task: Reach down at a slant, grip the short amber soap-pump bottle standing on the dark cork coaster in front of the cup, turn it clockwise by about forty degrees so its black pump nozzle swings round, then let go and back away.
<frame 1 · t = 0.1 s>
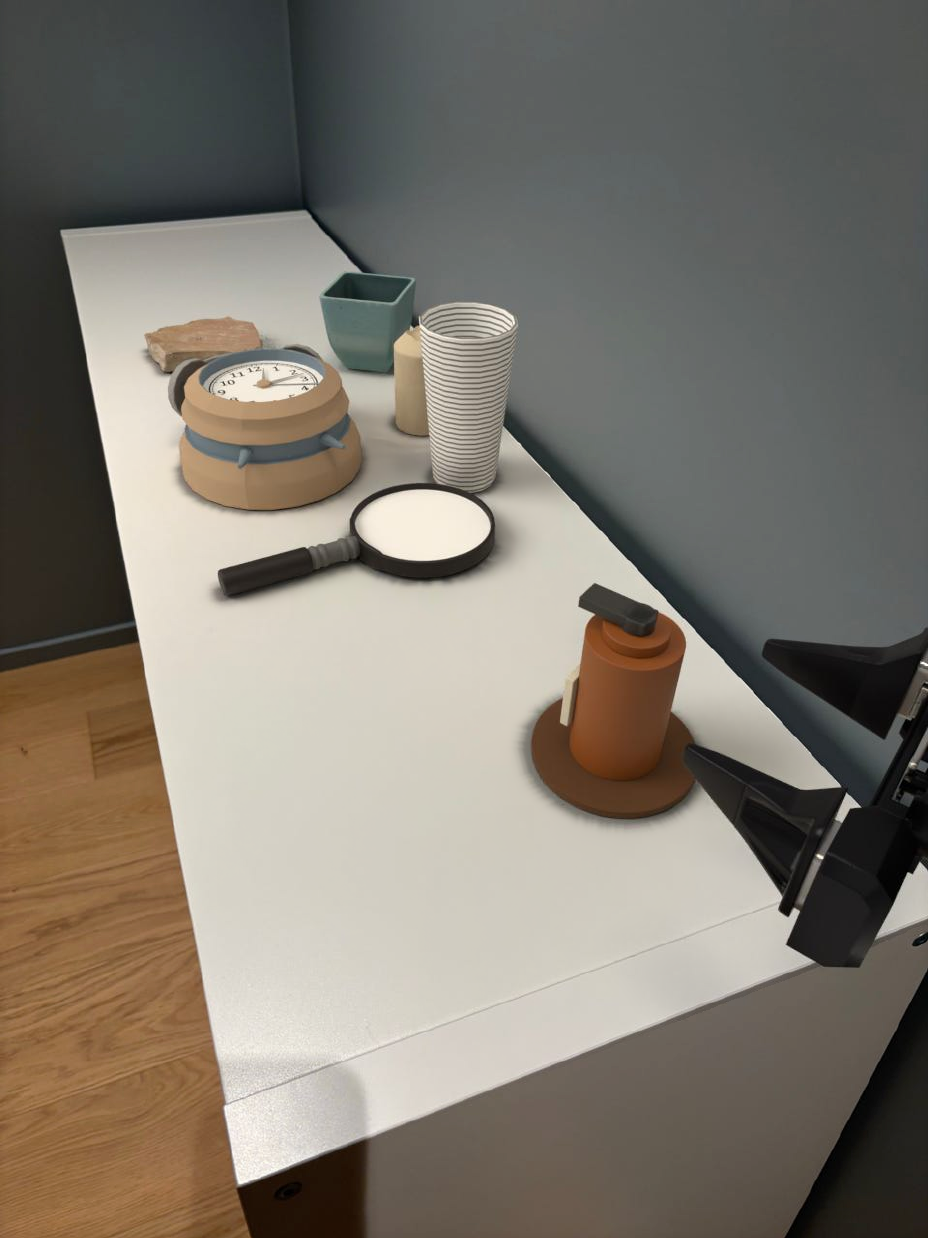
hand: (726, 696, 45), 14 cm above the cabinet top, tool horizontal, fingers open, 9 cm apart
coaster: (613, 752, 61), on the cabinet top
candle: (421, 425, 97), on the cabinet top
stone: (213, 360, 108), on the cabinet top
magnifying glass: (361, 557, 78), on the cabinet top
cup: (463, 479, 88), on the cabinet top
flower pot: (371, 364, 108), on the cabinet top
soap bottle: (622, 681, 57), point 6 cm above the cabinet top, hinge at 0.0°
alarm clock: (265, 451, 92), on the cabinet top
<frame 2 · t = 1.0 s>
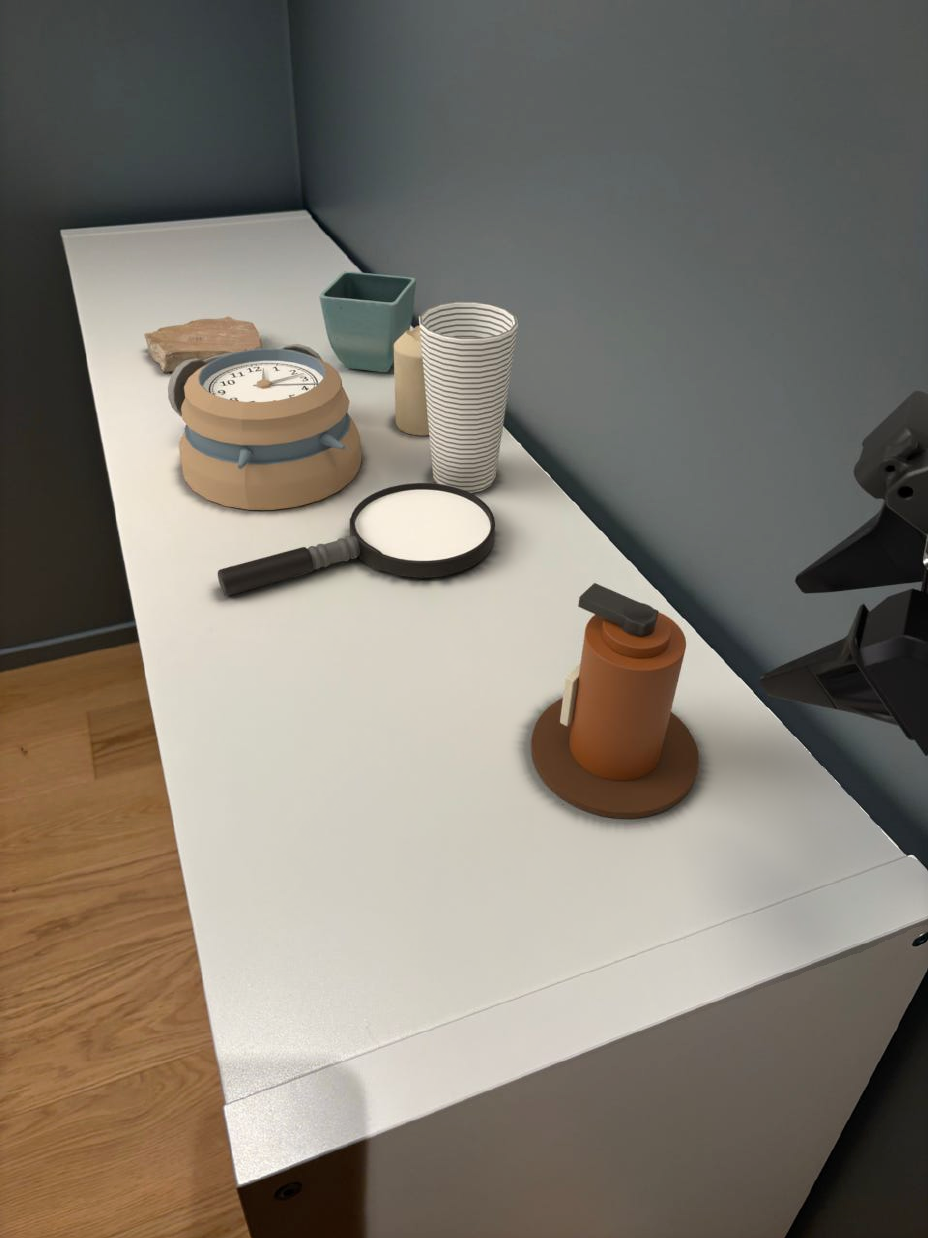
hand: (782, 632, 49), 14 cm above the cabinet top, tool tilted 45°, fingers open, 9 cm apart
nothing on the cabinet top moved.
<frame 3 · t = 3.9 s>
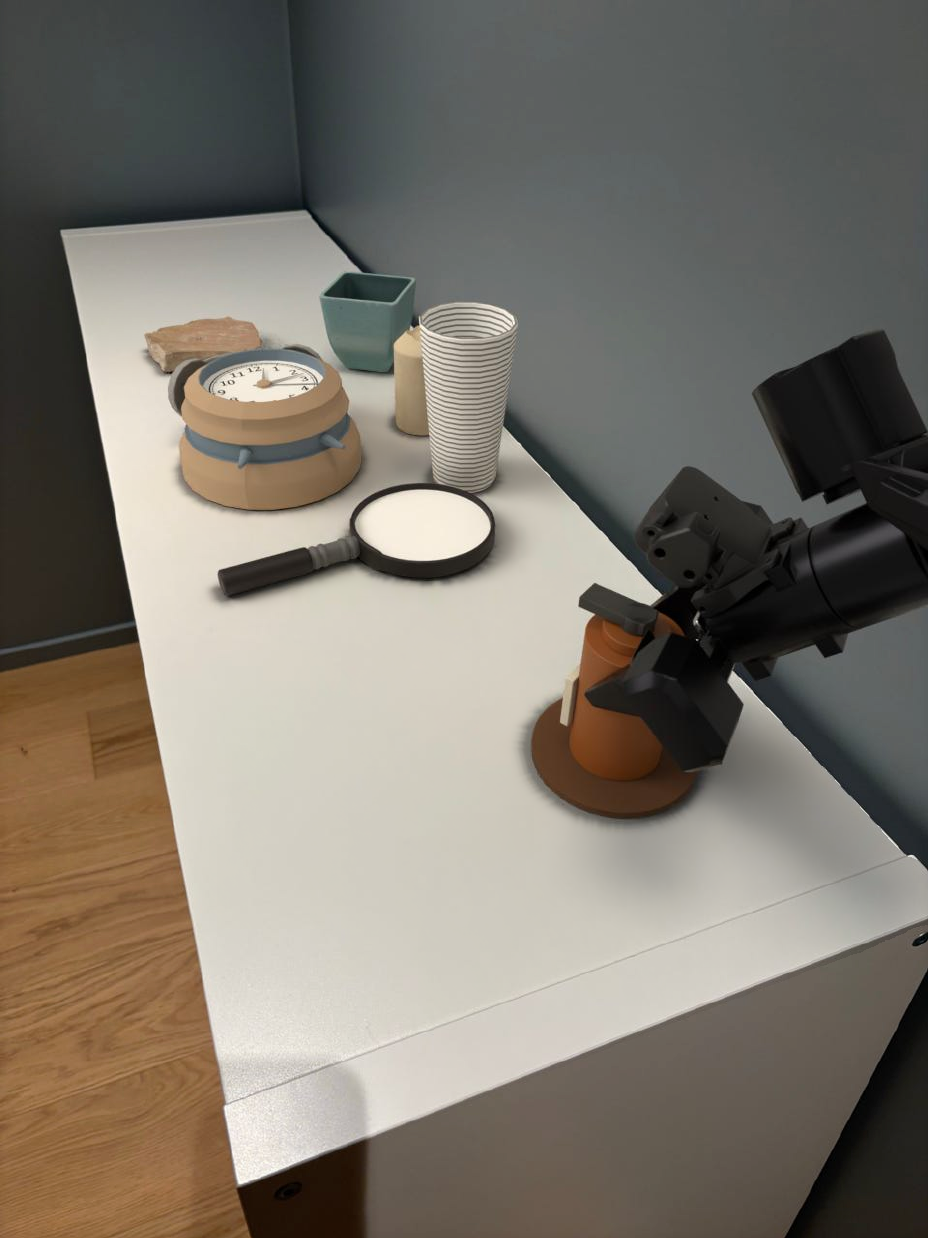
hand: (607, 667, 57), 7 cm above the cabinet top, tool tilted 45°, fingers closed on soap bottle, 6 cm apart
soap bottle: (622, 681, 58), point 6 cm above the cabinet top, hinge at -0.1°, touching gripper
everything else where it was.
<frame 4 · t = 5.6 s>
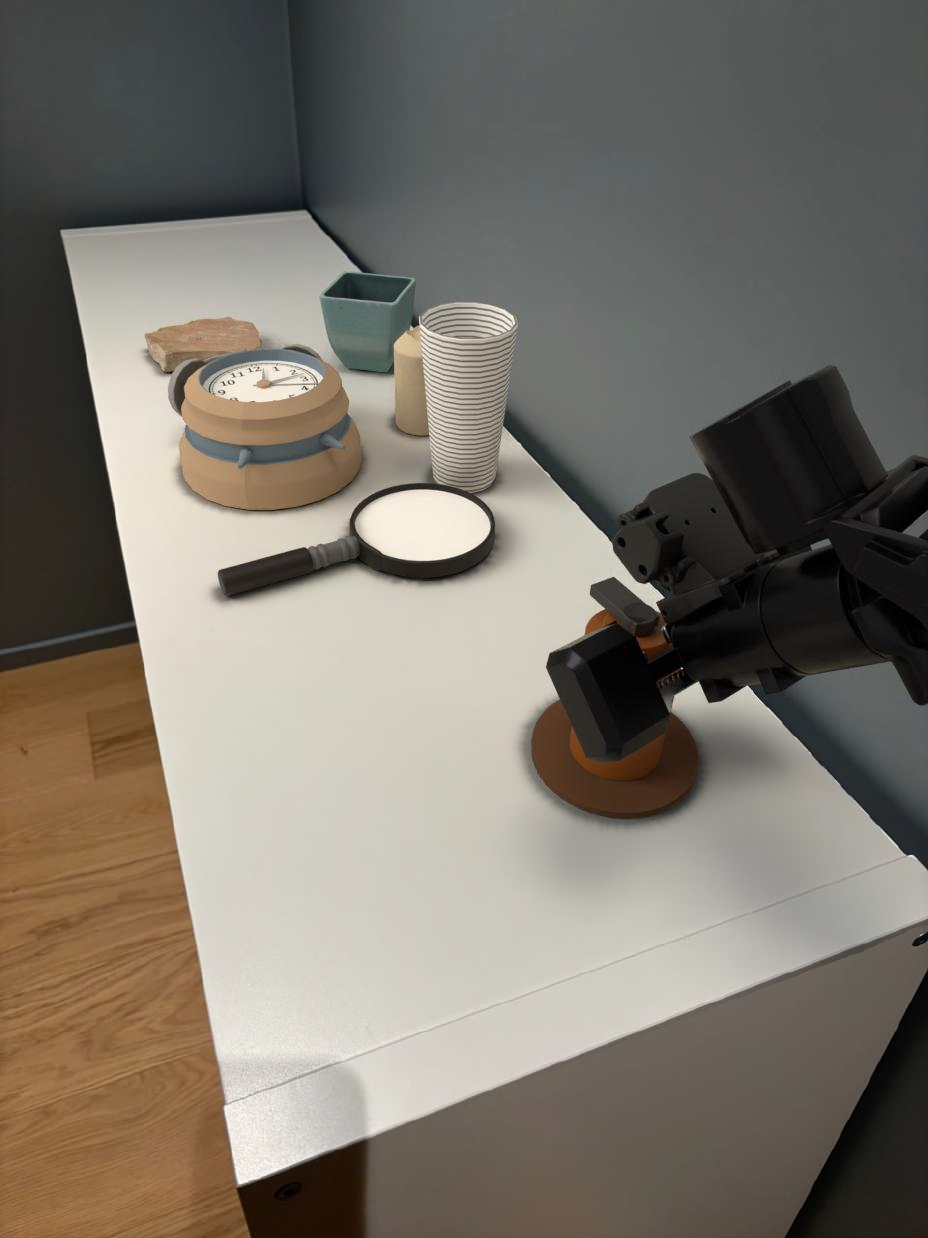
hand: (612, 662, 58), 7 cm above the cabinet top, tool tilted 45°, fingers closed on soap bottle, 6 cm apart
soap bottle: (623, 681, 58), point 6 cm above the cabinet top, hinge at -22.4°, touching gripper
everything else where it was.
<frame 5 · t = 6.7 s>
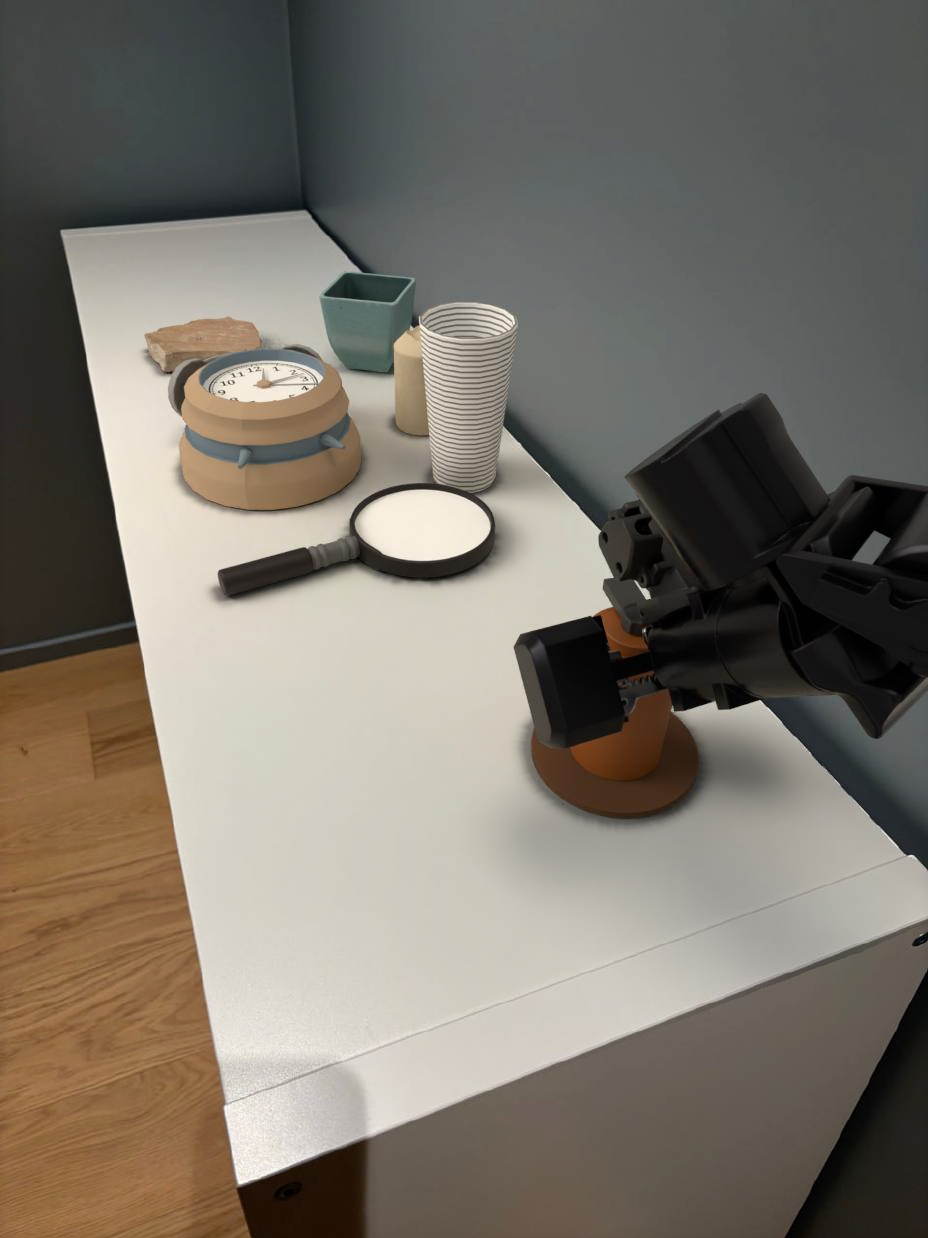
hand: (616, 660, 58), 7 cm above the cabinet top, tool tilted 45°, fingers closed on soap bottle, 6 cm apart
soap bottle: (624, 680, 58), point 6 cm above the cabinet top, hinge at -39.1°, touching gripper
everything else where it was.
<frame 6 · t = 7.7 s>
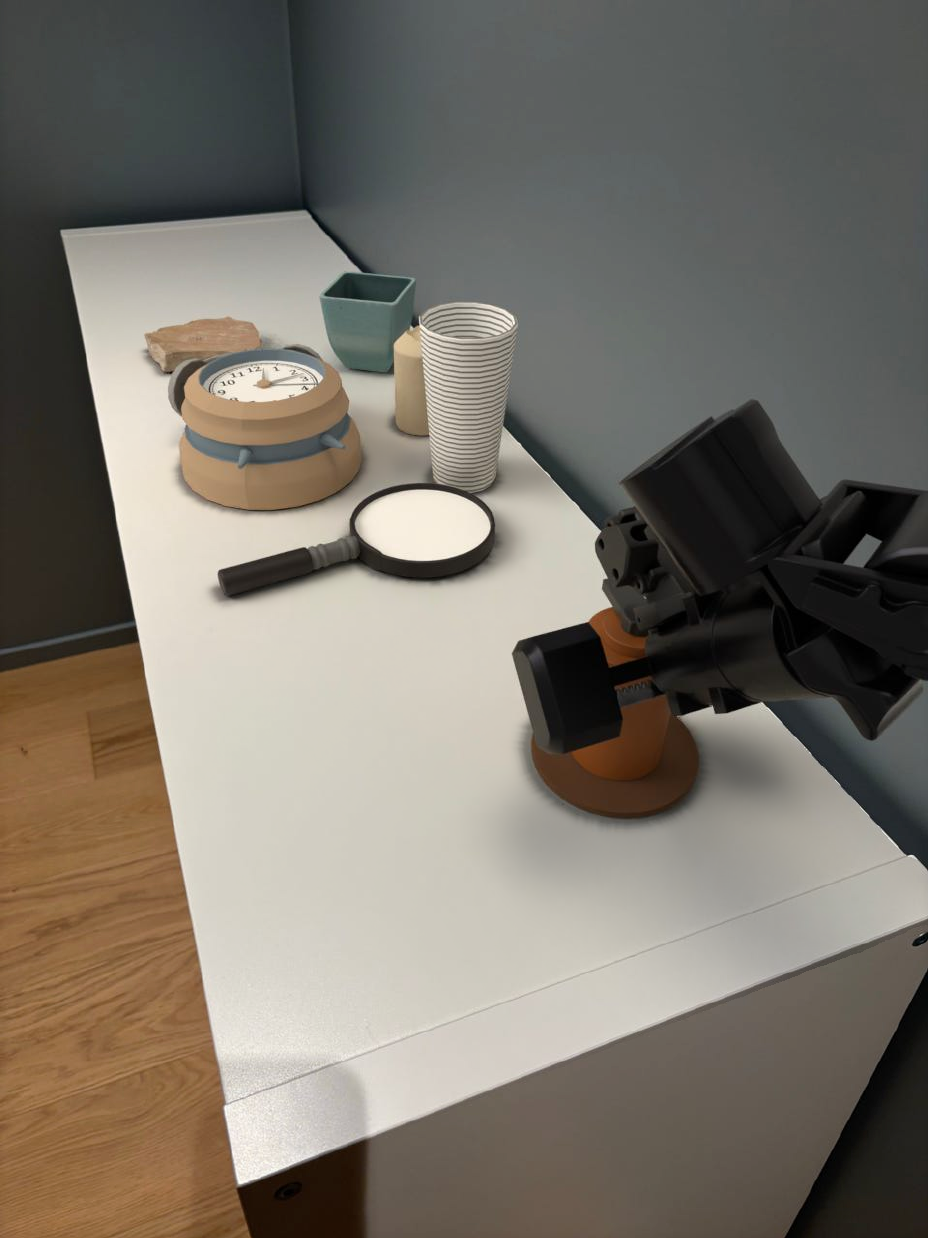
hand: (615, 666, 58), 7 cm above the cabinet top, tool tilted 45°, fingers open, 9 cm apart
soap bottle: (624, 680, 58), point 6 cm above the cabinet top, hinge at -38.3°
everything else where it was.
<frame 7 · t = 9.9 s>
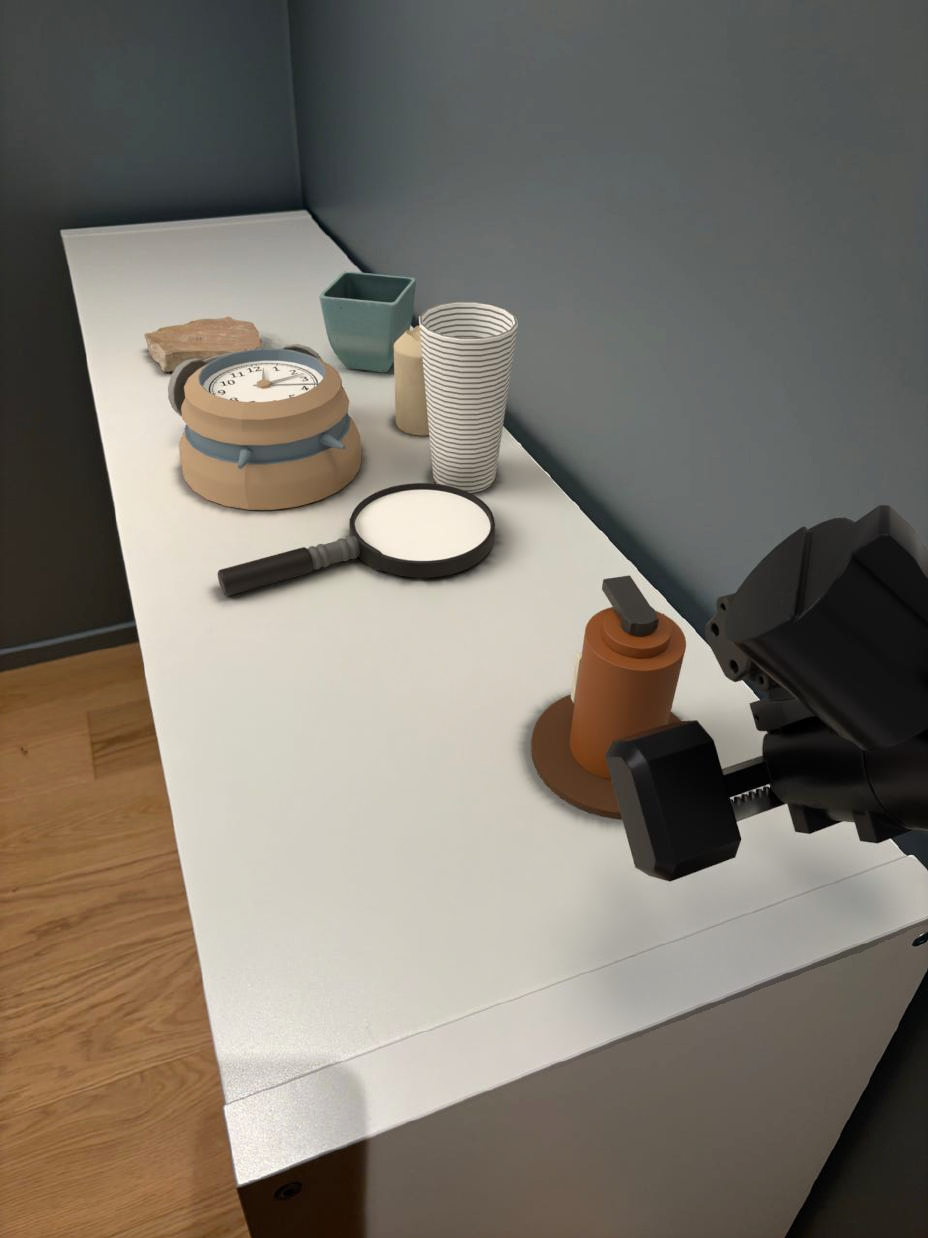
hand: (706, 752, 51), 8 cm above the cabinet top, tool tilted 45°, fingers open, 9 cm apart
nothing on the cabinet top moved.
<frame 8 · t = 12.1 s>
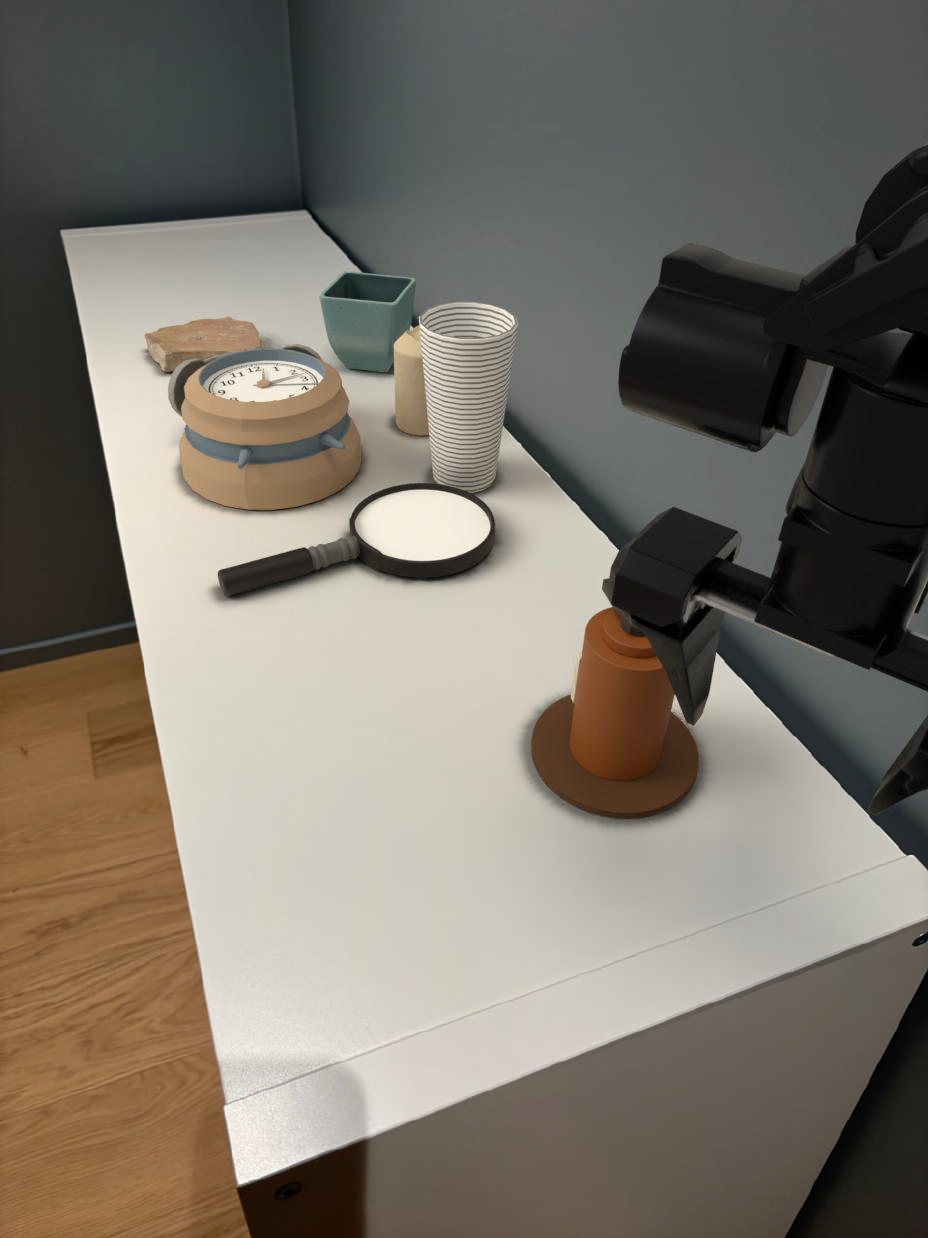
hand: (779, 761, 45), 12 cm above the cabinet top, tool pointing down, fingers open, 9 cm apart
nothing on the cabinet top moved.
at the end: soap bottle at -38° (first picture: +0°); the gripper is holding nothing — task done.
